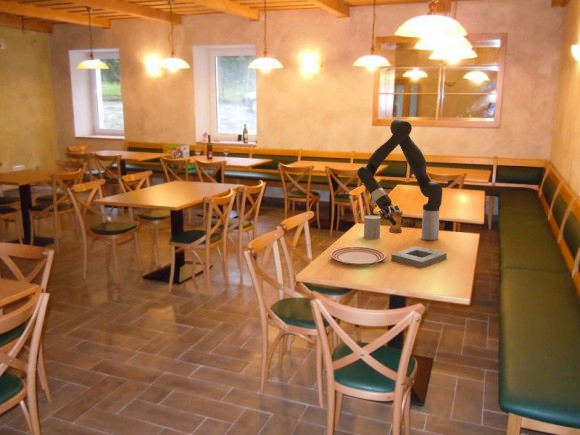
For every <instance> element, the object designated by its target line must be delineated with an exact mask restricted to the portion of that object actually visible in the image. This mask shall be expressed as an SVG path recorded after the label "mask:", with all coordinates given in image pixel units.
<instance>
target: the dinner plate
mask: <svg viewBox="0 0 580 435" xmlns="http://www.w3.org/2000/svg"><path fill="white" fill-rule="evenodd" d="M330 256H331V258H332V259H334V260H335V261H338V262H339V263H344V264H347V265H351V266H368V265H373V264H377V263H380V262H381V261H383V260H384V259H385V258H386V253H384V252H383V251H381V250H379V249H376V248H373V247H368V246H346V247H345V246H344V247H339V248H337V249H333V251H331V253H330Z"/></svg>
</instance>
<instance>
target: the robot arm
mask: <svg viewBox="0 0 580 435" xmlns="http://www.w3.org/2000/svg"><path fill="white" fill-rule="evenodd" d="M389 129H390V132H391V136H390V138H388V139H387V141H385V142H384V143H382V144H381V145H380V146H379V147H378V148H377V149H376V150H375V151H374V152H373V153H372V154H371V155H370V157H369V159H368V160H367V164H366V166H361V167H359V168H358V169H357V173H356V175H357V177H358V179H359V180H360V181H361V183H362V184H363V185H364V187H365V189H366V190H367V191H368V193H369V194H370V196H371V198H372V200H373V201H374V203H375V204H376V205H377V207H378V209H379V211H378V213H379V214H380V215H381V216H382V217H383V218H384V220H385V221H387V220H388V221H389V222H390V223H391V224H392V225H393V226H395V225H396V224H397V223H396V222H395V220H394V219H393V218H392V215H390V212H391V211H393V210H399V211H401V210H400V207H399V206H398V205H397V204H396V205H393V204H392V199H391V198H390V196H389V195H388V194H387V192H386V190H385V189H384V188H383V187H382V186H381V183H379V181H378V180H376V178H375V177H374V176H375V175H376V173H377V171H378V169H379V167H380V166H382V164H383V163H384V161H385V160H386V159H387V157H388V156H390V154H391V153H392V152H393V151H394V150H395V149H396V148H397V147H398V146H399V147H400V149H401V151H402V153H403V155H404V158H405V159H406V161H407V164H408V166H409V168H410V169H411V171H412V173H413V176H414V177H415V179H416V182H417V184H418V187H419V189H420V193H421V195H423V196H424V197H425V198H427V202H426V203H423V206H422V218H421V220H422V221H421V225H422V226H421V240H425V241H437V240H438V239H439V233H440V232H439V231H440V210H441V209H440V208H441V205H442V200H443V199H442V198H443V186H442V185H441V184H440V183H438V182H435V181H432V179H430V177H429V175H428V174H427V173H428V172H427V161H426V158H425V156H424V154H423V152H422V151H421V149H420V148H419V146H418V145H417V144H416V143H415V142H414V141H413V140H412V138H411V137H410V134H411V133H412V129H413V127H412V124H411V123H410V121H408V120H404V119H399V118H396V119H393V120H392V121H391V123H390V127H389ZM403 223H404V220H403V219H402V217H401V225H402V224H403Z"/></svg>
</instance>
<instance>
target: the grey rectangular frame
mask: <svg viewBox="0 0 580 435" xmlns="http://www.w3.org/2000/svg"><path fill="white" fill-rule="evenodd" d="M447 254H448V253H447V252H443V251H439V250H435V249H431V248H426V247H422V246H418V245H416V246H412V247H409V248H407V249H404V250H400V251H397V252H395V253H391V261H395V262H398V263H401V264H404V265H409V266H413V267H417V268H421V269H423V268H425V267H428V266H431V265H434V264H437V263H439V262H442V261H444V260H446V259H447Z"/></svg>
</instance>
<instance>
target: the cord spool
mask: <svg viewBox="0 0 580 435" xmlns="http://www.w3.org/2000/svg"><path fill="white" fill-rule="evenodd" d="M390 215H392V218H393V219H394V220H395V222H396V223H397V224H396V225H395V226H393V225H392V224H391V222H390V224H389V225H390V226H389V229H388V233H390V234H402V233H403V229H402V224H401V218H402V216H403V211H402V210H400V211H399V210H393V211H391V212H390Z"/></svg>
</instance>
